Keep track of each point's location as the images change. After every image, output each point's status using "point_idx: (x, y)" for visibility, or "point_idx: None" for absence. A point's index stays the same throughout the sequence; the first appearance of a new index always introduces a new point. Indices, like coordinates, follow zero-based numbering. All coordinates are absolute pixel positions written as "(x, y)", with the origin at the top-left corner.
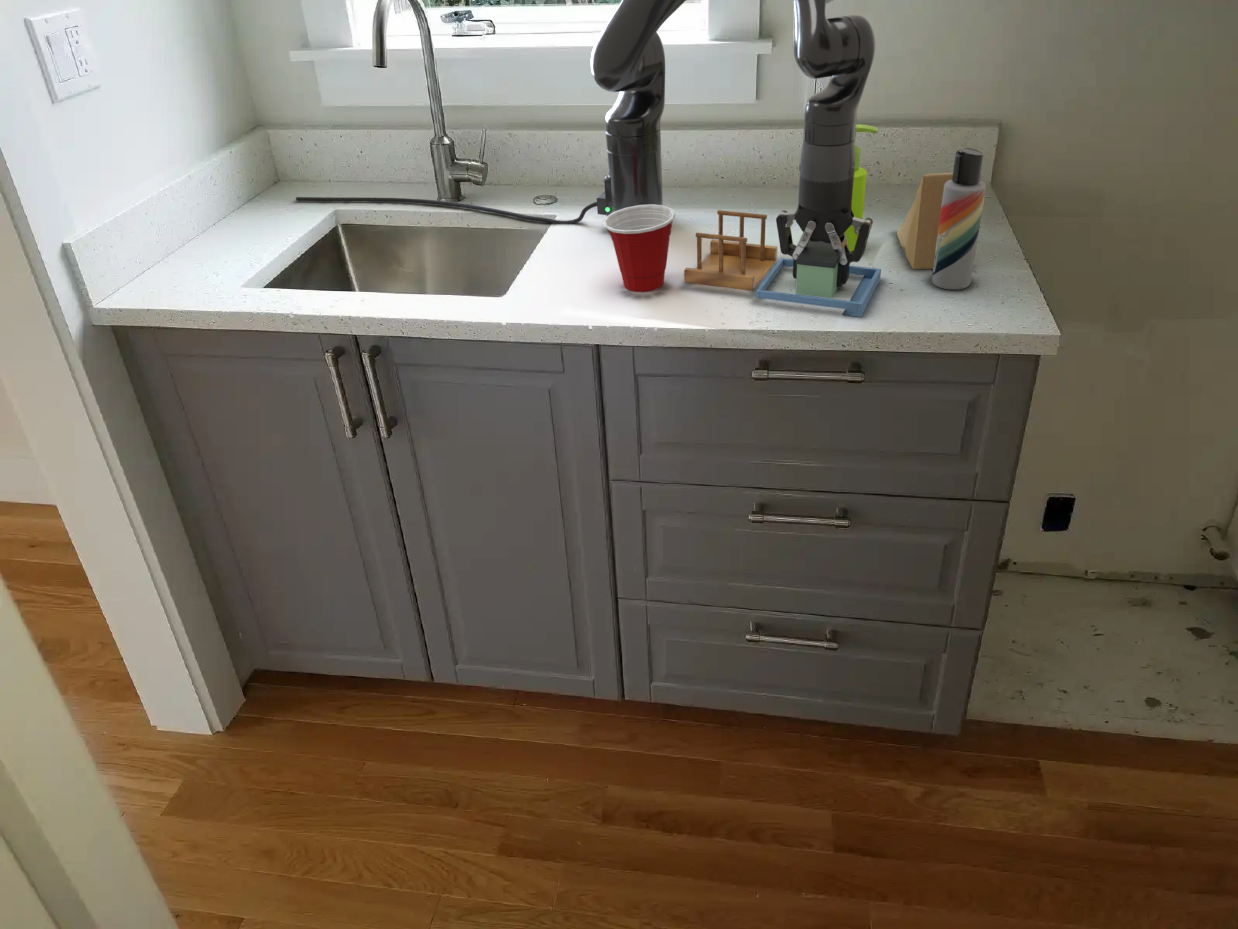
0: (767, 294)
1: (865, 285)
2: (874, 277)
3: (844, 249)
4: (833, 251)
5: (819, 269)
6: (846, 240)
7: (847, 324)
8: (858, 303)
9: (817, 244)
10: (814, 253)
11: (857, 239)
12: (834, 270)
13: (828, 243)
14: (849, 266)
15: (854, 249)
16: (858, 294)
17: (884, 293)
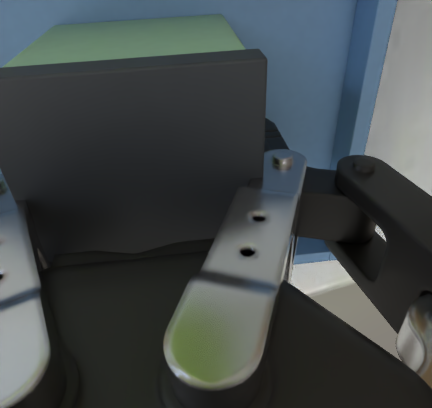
0: None
1: (326, 25)
2: (381, 37)
3: (292, 263)
4: (213, 212)
5: None
6: (296, 211)
7: (296, 272)
8: (329, 259)
9: (69, 147)
10: None
11: (397, 329)
12: None
13: (134, 107)
14: (288, 149)
15: (355, 280)
16: (307, 120)
17: (398, 40)
